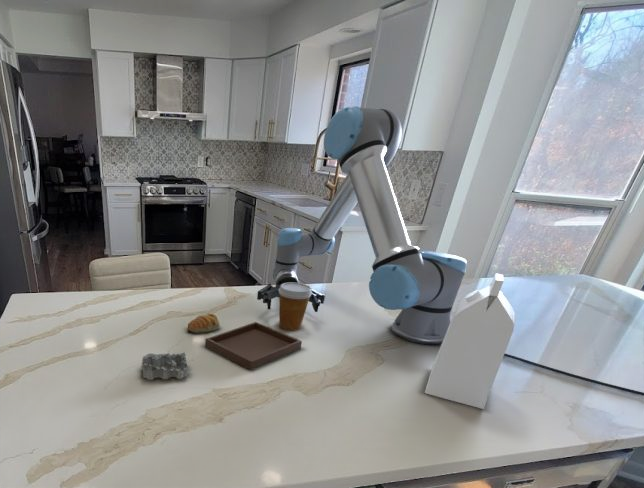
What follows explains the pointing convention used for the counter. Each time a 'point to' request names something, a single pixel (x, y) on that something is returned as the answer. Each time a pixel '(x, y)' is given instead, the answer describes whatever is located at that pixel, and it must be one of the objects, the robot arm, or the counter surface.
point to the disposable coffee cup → (293, 304)
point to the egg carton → (164, 366)
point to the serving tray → (253, 345)
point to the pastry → (204, 323)
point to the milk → (473, 347)
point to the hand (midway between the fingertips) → (293, 306)
